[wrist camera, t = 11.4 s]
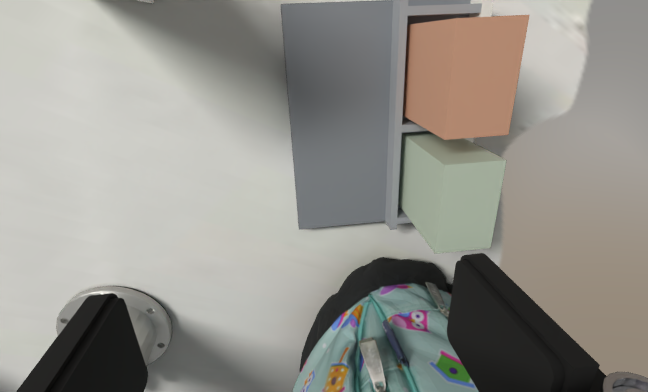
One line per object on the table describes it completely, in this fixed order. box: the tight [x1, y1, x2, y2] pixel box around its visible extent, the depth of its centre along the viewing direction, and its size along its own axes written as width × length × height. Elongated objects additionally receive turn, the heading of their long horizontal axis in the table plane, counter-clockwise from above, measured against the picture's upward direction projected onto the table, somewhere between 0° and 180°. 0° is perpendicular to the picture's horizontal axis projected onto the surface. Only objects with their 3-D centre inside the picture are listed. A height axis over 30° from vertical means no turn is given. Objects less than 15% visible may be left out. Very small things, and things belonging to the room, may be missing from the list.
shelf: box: [281, 0, 494, 230], centre depth 35 cm, size 22×18×4 cm
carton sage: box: [398, 132, 506, 254], centre depth 33 cm, size 8×5×10 cm, turn 2°
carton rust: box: [403, 15, 529, 140], centre depth 29 cm, size 8×5×10 cm, turn 3°
